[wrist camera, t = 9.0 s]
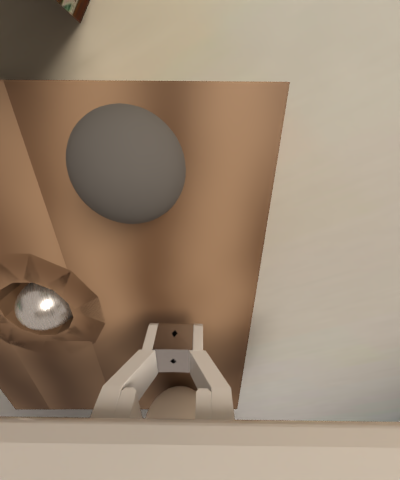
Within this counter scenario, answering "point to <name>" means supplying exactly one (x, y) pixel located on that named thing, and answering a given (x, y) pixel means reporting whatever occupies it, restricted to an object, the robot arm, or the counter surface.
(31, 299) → the steel ball
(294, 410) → the counter surface
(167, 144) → the gray rubber ball
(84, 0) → the food container
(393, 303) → the counter surface
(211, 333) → the board
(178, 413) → the cream plastic ball
